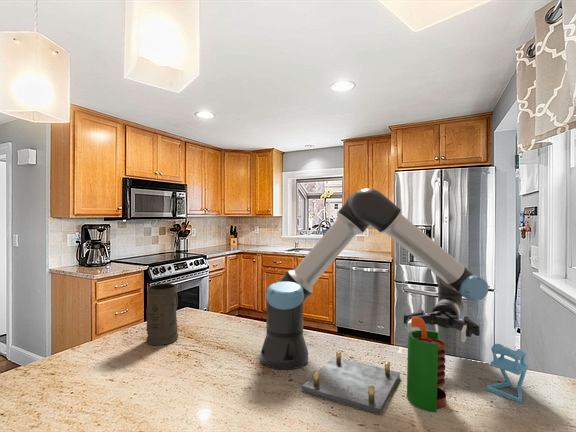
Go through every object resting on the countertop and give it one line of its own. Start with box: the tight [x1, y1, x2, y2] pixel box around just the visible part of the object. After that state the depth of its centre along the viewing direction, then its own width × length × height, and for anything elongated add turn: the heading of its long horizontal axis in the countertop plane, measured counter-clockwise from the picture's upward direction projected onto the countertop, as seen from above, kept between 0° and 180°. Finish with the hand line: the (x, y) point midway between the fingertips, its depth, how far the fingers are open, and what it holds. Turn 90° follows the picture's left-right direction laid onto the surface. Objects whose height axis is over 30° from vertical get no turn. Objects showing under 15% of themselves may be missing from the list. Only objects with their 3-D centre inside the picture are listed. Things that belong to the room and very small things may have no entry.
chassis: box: [301, 350, 401, 417], centre depth 88 cm, size 20×21×4 cm
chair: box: [486, 343, 529, 403], centre depth 85 cm, size 8×8×12 cm
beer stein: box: [146, 283, 179, 346], centre depth 120 cm, size 15×11×20 cm
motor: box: [406, 317, 447, 413], centre depth 80 cm, size 10×9×20 cm
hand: (434, 332), depth 88 cm, fingers open, 13 cm apart
